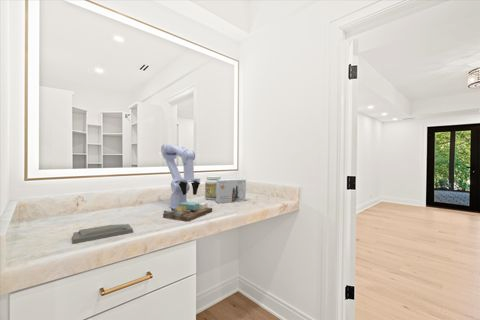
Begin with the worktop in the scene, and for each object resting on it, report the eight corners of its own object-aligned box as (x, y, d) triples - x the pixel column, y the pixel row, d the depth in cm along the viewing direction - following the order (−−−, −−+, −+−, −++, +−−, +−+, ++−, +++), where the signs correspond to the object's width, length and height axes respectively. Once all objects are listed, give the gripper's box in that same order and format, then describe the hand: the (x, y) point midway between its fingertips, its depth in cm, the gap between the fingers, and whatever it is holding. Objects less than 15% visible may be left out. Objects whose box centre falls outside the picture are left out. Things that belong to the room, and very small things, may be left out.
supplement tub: (202, 198, 167) (202, 176, 167) (215, 196, 175) (215, 175, 175) (211, 201, 158) (211, 177, 158) (224, 198, 166) (224, 176, 166)
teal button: (178, 208, 120) (178, 203, 120) (184, 206, 125) (184, 201, 125) (193, 209, 116) (193, 205, 116) (199, 208, 121) (199, 203, 121)
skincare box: (218, 203, 148) (218, 180, 148) (215, 202, 153) (215, 179, 153) (246, 201, 158) (246, 179, 158) (242, 199, 163) (242, 178, 163)
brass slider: (176, 214, 112) (176, 206, 112) (181, 212, 116) (181, 204, 116) (181, 214, 111) (181, 206, 111) (186, 213, 114) (186, 205, 114)
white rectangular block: (188, 207, 127) (188, 203, 127) (193, 205, 132) (193, 201, 132) (202, 209, 123) (202, 204, 123) (207, 207, 128) (207, 203, 128)
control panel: (163, 217, 114) (163, 210, 114) (189, 208, 134) (189, 202, 134) (188, 221, 107) (188, 214, 107) (212, 211, 127) (212, 205, 127)
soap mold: (133, 234, 91) (133, 225, 91) (73, 246, 79) (73, 236, 79) (128, 227, 99) (128, 220, 99) (72, 237, 87) (72, 228, 87)
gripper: (174, 172, 128) (175, 195, 128) (194, 170, 122) (195, 195, 121) (182, 171, 135) (183, 194, 134) (202, 170, 128) (203, 194, 128)
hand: (189, 194), depth 128 cm, fingers open, 7 cm apart
